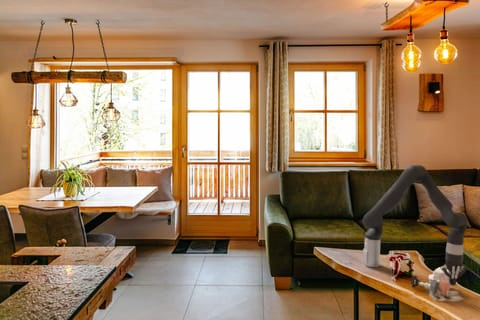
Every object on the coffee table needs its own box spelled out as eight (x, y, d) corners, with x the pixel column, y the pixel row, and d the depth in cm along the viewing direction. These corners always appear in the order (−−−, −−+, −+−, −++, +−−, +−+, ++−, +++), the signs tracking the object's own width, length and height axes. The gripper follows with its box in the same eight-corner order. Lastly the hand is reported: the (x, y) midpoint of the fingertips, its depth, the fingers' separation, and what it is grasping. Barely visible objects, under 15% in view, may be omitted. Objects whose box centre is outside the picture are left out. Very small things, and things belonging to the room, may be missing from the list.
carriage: (444, 297, 184) (445, 283, 184) (438, 292, 190) (439, 279, 189) (450, 297, 184) (451, 283, 184) (444, 292, 190) (445, 279, 189)
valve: (439, 293, 193) (415, 285, 201) (440, 280, 192) (416, 274, 201) (434, 296, 188) (410, 289, 197) (435, 284, 188) (411, 277, 196)
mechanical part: (438, 282, 206) (439, 261, 205) (457, 291, 195) (459, 269, 194) (423, 285, 202) (424, 264, 201) (442, 294, 191) (443, 272, 190)
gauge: (436, 301, 183) (437, 285, 182) (429, 295, 190) (429, 279, 189) (463, 301, 184) (464, 284, 183) (455, 295, 190) (456, 279, 189)
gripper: (445, 254, 182) (443, 288, 183) (472, 254, 182) (470, 288, 183) (437, 249, 189) (435, 281, 191) (462, 249, 189) (460, 281, 191)
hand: (452, 284), depth 187 cm, fingers closed
